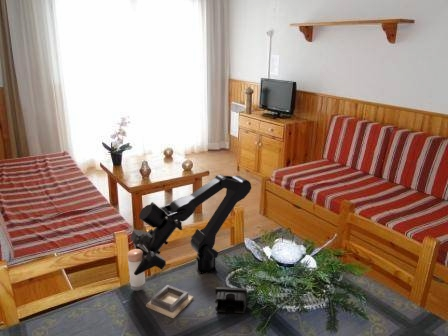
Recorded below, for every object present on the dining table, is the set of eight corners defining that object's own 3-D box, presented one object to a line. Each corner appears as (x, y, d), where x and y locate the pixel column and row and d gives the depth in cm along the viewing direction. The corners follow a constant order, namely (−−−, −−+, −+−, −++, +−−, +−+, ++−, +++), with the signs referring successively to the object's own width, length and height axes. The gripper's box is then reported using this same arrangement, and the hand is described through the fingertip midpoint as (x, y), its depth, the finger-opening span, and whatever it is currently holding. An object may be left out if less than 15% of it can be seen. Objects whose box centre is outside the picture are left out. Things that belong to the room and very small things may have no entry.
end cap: (246, 301, 125) (247, 284, 123) (246, 316, 118) (246, 298, 116) (216, 300, 125) (216, 282, 123) (214, 314, 119) (214, 296, 117)
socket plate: (167, 288, 131) (166, 281, 130) (193, 298, 126) (193, 291, 125) (146, 306, 122) (145, 299, 121) (173, 318, 117) (173, 311, 116)
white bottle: (144, 280, 133) (141, 247, 129) (146, 288, 128) (143, 255, 124) (129, 283, 131) (126, 250, 127) (131, 291, 127) (128, 258, 123)
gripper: (135, 211, 132) (106, 247, 130) (154, 233, 116) (122, 275, 115) (158, 226, 138) (131, 261, 136) (178, 249, 123) (148, 288, 121)
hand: (132, 270), depth 127 cm, fingers closed on white bottle, 5 cm apart
